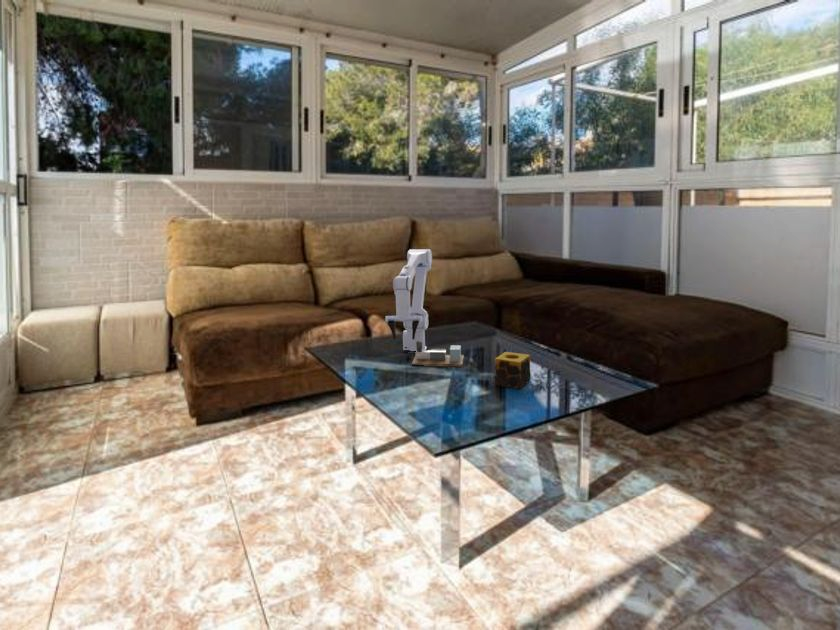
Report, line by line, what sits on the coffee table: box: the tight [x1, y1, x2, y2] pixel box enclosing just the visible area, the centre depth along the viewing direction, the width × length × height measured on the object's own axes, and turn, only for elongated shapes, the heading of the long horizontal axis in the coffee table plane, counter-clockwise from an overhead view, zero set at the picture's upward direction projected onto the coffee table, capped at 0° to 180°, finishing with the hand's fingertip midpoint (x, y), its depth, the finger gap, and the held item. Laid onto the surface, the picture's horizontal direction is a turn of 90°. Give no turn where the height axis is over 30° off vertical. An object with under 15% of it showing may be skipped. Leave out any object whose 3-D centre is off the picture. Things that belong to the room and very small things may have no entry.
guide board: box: [411, 354, 465, 367], centre depth 227 cm, size 20×12×1 cm, turn 82°
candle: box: [493, 351, 531, 390], centre depth 199 cm, size 10×10×10 cm
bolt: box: [415, 341, 447, 359], centre depth 227 cm, size 12×3×7 cm, turn 82°
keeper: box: [449, 344, 462, 362], centre depth 226 cm, size 4×6×5 cm, turn 172°
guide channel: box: [430, 348, 447, 361], centre depth 227 cm, size 6×5×4 cm
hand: (404, 338), depth 227 cm, fingers open, 7 cm apart
